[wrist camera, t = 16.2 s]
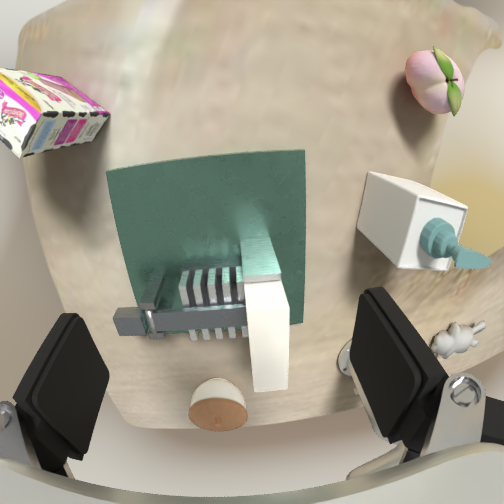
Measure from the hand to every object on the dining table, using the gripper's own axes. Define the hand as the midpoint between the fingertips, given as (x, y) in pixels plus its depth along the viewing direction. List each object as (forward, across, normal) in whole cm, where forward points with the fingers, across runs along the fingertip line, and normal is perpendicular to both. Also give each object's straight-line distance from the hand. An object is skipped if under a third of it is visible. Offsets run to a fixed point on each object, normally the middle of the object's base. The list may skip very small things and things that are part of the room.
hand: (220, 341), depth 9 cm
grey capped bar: (+24, +6, +17) cm, 30 cm away
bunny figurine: (+31, -48, +37) cm, 68 cm away
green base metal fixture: (+31, +3, +11) cm, 33 cm away
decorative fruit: (+31, -28, -13) cm, 44 cm away
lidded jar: (+31, +6, +41) cm, 51 cm away
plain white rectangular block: (+21, -3, +16) cm, 27 cm away
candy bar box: (+31, +20, -12) cm, 39 cm away
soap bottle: (+31, -23, +6) cm, 39 cm away
